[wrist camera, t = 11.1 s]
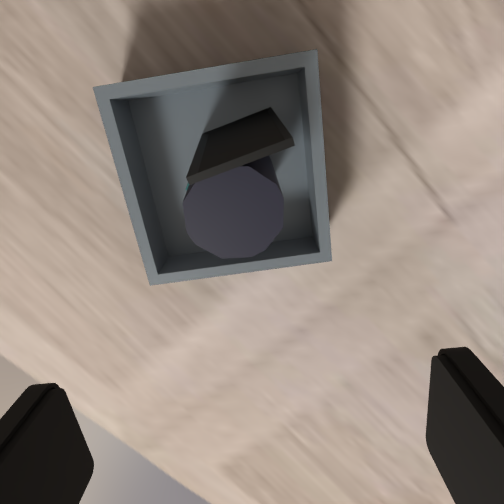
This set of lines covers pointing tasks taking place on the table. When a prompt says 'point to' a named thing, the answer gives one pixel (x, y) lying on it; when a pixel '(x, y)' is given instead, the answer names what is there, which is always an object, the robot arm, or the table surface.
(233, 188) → the speaker
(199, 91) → the open box
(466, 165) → the table surface
